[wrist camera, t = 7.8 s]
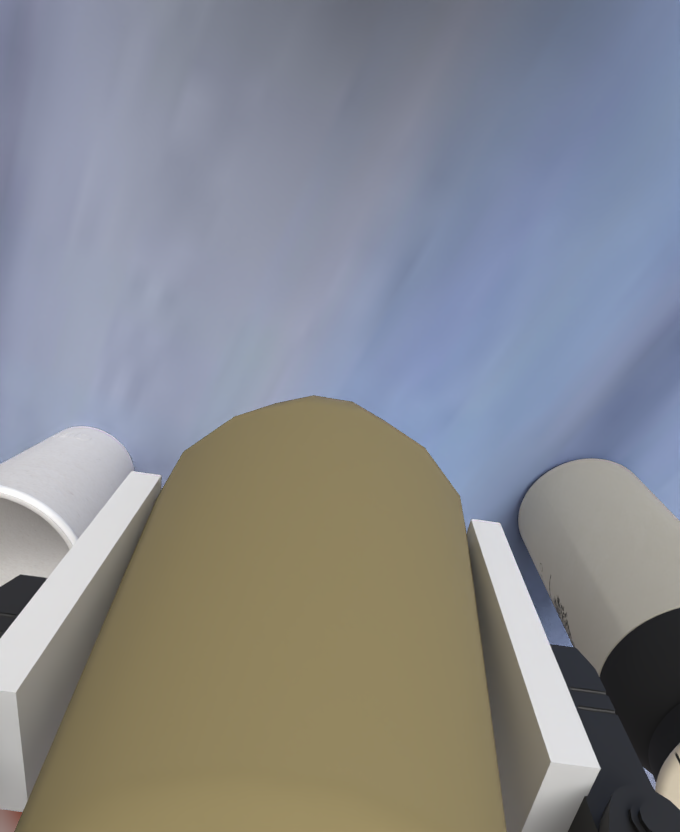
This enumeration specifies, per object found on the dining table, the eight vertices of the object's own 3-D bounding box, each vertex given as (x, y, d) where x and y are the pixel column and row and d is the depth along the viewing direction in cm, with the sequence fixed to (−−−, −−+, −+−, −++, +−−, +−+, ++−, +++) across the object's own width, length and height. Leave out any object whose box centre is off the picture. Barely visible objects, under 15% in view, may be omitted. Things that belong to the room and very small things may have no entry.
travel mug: (634, 440, 34) (902, 682, 17) (652, 545, 37) (897, 842, 20) (504, 476, 35) (637, 736, 19) (530, 576, 38) (667, 880, 21)
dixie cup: (14, 399, 34) (-113, 478, 25) (152, 412, 34) (76, 495, 25) (31, 517, 37) (-77, 626, 28) (157, 528, 37) (91, 641, 28)
